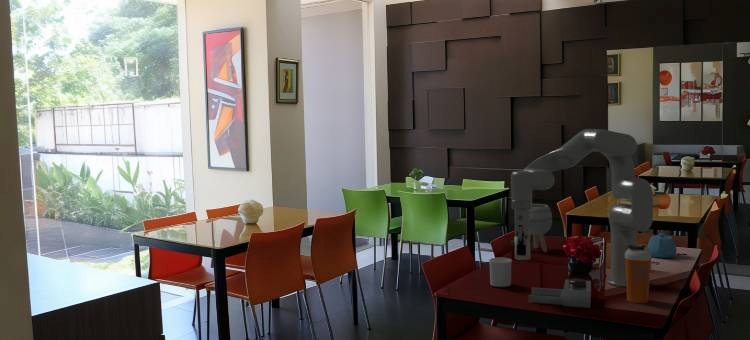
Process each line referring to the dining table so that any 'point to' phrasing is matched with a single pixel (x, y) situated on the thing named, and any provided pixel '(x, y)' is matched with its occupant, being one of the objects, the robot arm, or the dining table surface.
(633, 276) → the shaker bottle
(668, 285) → the dining table surface
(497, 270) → the mug
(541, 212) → the grey tooth model
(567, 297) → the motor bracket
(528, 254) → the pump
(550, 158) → the robot arm
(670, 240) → the teapot
